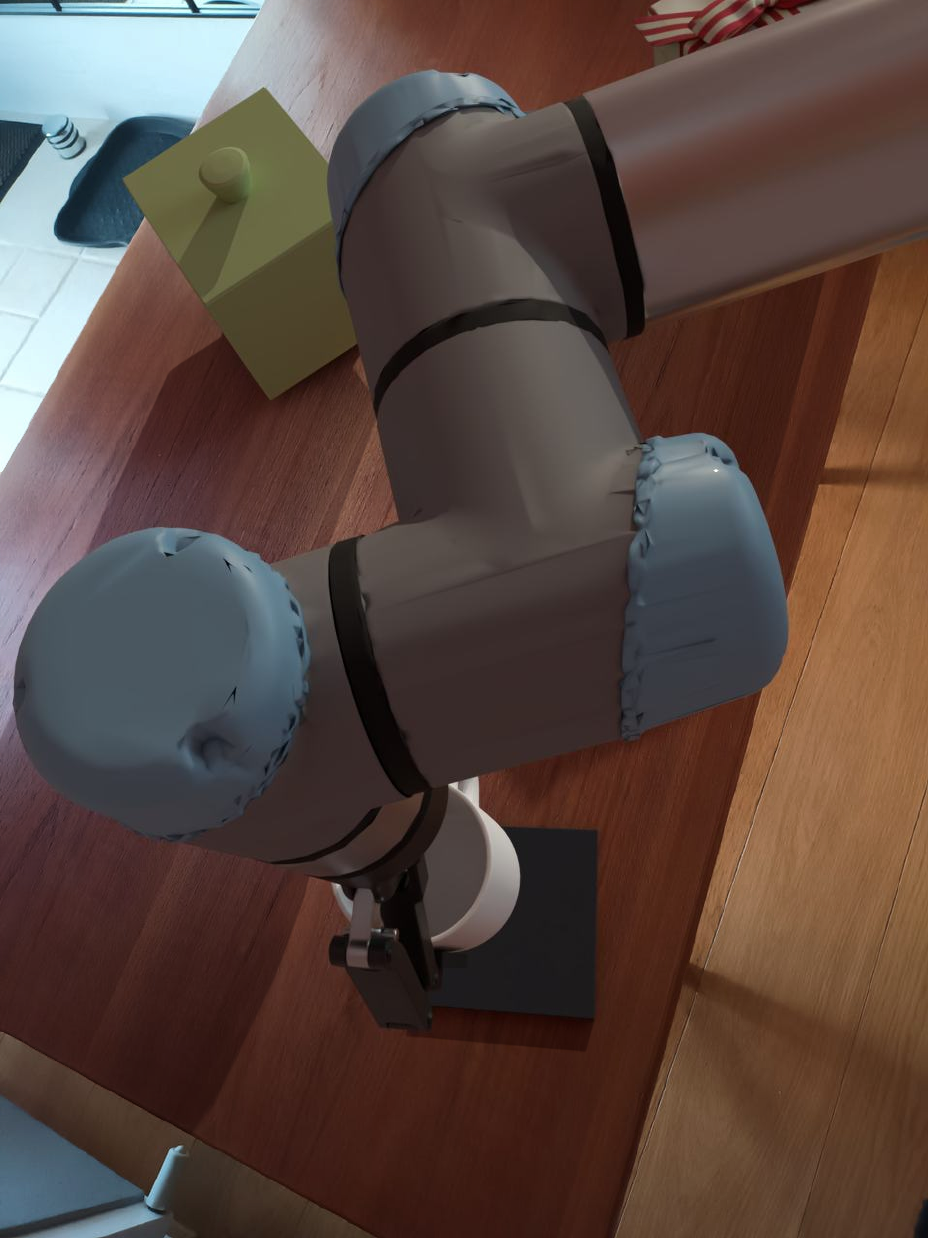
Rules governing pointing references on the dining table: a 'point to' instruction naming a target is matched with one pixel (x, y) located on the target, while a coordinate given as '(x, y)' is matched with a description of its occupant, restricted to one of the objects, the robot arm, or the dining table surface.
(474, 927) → the mug
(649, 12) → the gift box
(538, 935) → the mat
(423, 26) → the dining table surface
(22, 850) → the dining table surface
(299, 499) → the dining table surface
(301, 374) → the container
